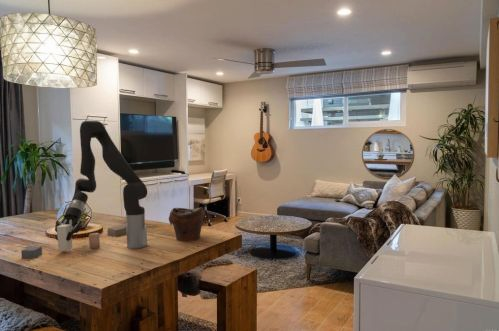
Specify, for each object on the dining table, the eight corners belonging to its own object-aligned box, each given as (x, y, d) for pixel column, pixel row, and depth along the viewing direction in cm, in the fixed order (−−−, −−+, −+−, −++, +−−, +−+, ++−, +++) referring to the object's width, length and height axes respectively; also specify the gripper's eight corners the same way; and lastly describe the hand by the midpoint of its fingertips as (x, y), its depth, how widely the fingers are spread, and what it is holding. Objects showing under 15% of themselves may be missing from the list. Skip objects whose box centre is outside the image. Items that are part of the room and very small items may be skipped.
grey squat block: (42, 254, 173) (41, 246, 172) (34, 258, 167) (33, 250, 166) (30, 254, 173) (29, 246, 173) (21, 258, 167) (21, 250, 167)
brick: (115, 237, 202) (115, 229, 202) (106, 235, 207) (106, 227, 206) (138, 230, 216) (138, 223, 216) (129, 229, 221) (129, 221, 220)
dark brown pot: (165, 236, 202) (165, 205, 200) (198, 232, 211) (198, 202, 210) (174, 245, 186) (173, 211, 185) (209, 240, 195) (209, 208, 194)
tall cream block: (72, 247, 178) (71, 224, 177) (67, 250, 173) (65, 226, 172) (63, 247, 178) (62, 224, 177) (58, 250, 174) (56, 226, 173)
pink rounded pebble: (101, 246, 185) (101, 232, 185) (96, 249, 180) (96, 235, 180) (92, 245, 185) (91, 232, 185) (87, 248, 180) (86, 235, 180)
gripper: (58, 206, 182) (44, 236, 171) (85, 206, 181) (73, 236, 170) (65, 214, 188) (52, 243, 177) (91, 214, 187) (79, 243, 176)
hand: (62, 239), depth 173 cm, fingers closed on tall cream block, 4 cm apart
